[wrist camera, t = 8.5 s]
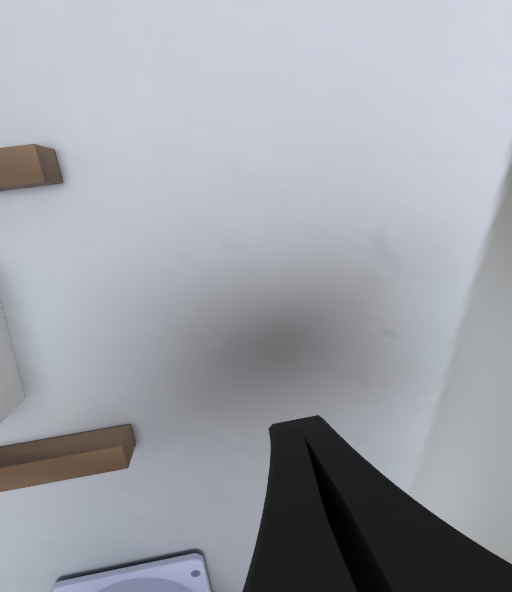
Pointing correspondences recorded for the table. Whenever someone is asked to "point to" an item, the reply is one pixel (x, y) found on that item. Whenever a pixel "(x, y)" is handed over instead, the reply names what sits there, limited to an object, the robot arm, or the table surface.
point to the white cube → (8, 372)
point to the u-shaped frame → (71, 448)
